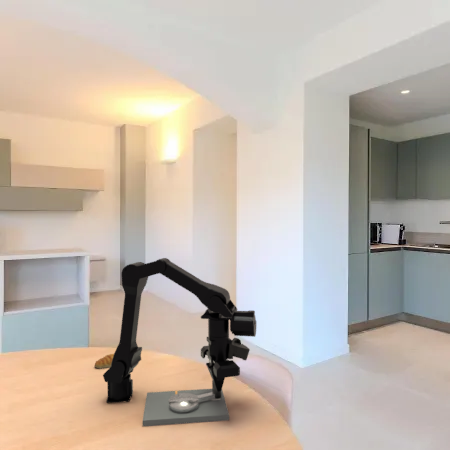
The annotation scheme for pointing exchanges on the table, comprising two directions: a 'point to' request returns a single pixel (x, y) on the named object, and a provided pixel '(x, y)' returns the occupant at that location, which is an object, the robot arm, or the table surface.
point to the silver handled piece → (191, 400)
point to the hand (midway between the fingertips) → (219, 391)
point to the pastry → (104, 362)
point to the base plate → (163, 415)
